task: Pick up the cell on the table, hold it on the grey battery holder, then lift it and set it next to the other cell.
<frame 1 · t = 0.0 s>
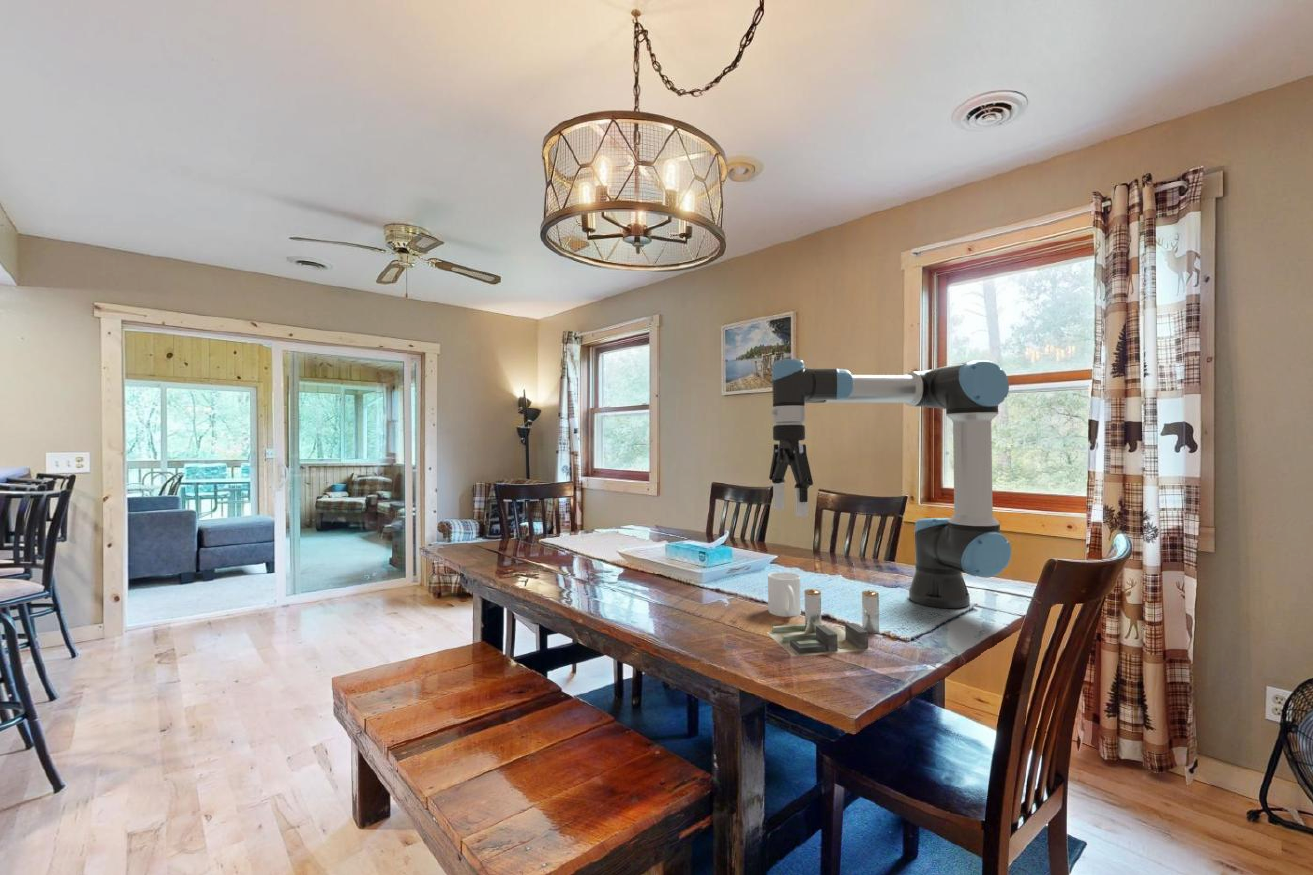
hand: (790, 512, 136), 28 cm above the table, fingers open, 13 cm apart
cell a: (870, 634, 131), on the table
cell b: (813, 634, 129), point 1 cm above the table, touching grey battery holder
mug: (786, 618, 145), on the table
grey battery holder: (817, 645, 125), on the table
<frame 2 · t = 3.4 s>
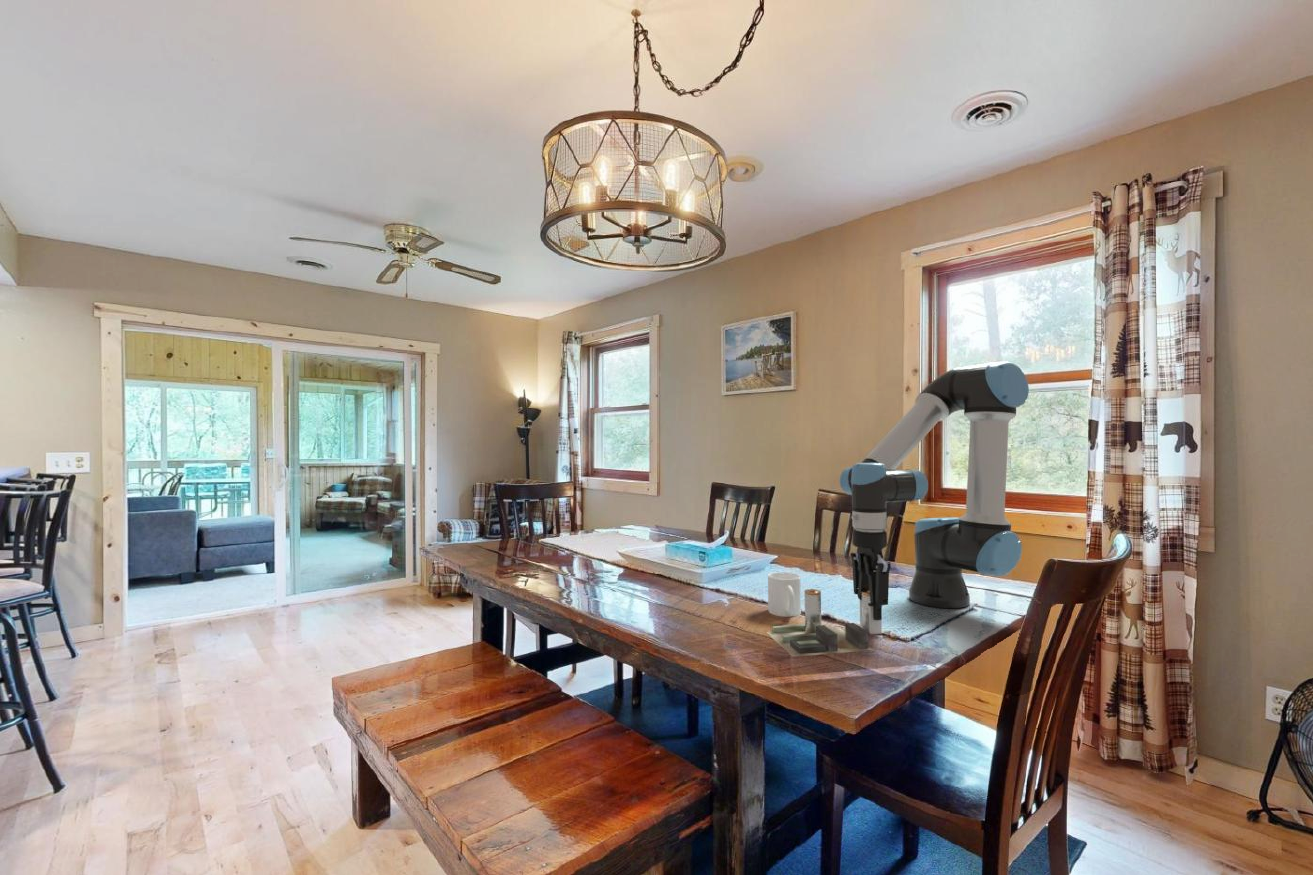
hand: (870, 630, 131), 1 cm above the table, fingers closed on cell a, 3 cm apart
cell a: (870, 634, 131), on the table, touching gripper
everything else where it was.
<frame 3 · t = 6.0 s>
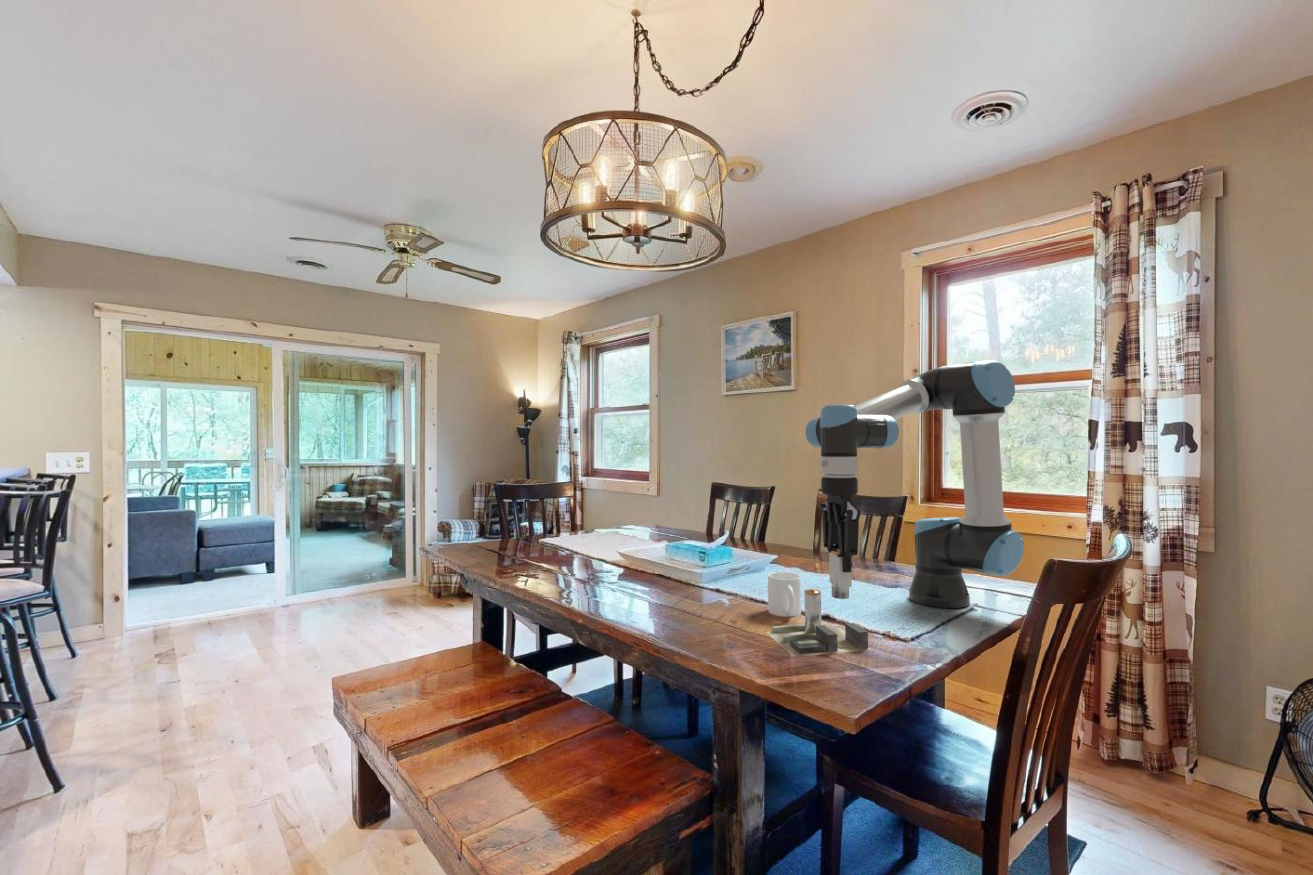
hand: (840, 584, 122), 14 cm above the table, fingers closed on cell a, 3 cm apart
cell a: (840, 596, 122), point 11 cm above the table, touching gripper
everything else where it was.
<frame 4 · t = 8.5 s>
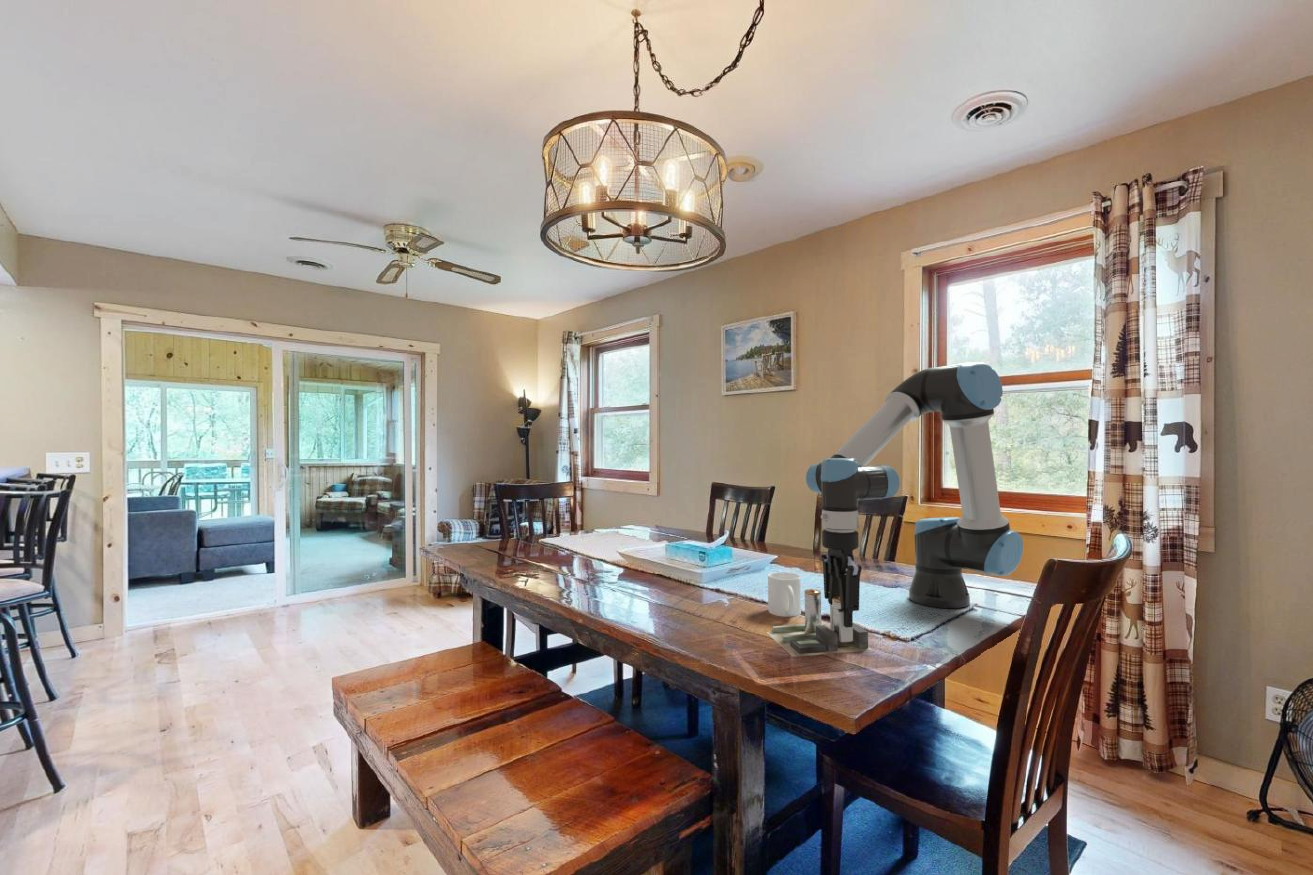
hand: (841, 637, 122), 3 cm above the table, fingers closed on cell a, 3 cm apart
cell a: (841, 644, 122), point 1 cm above the table, touching gripper
everything else where it was.
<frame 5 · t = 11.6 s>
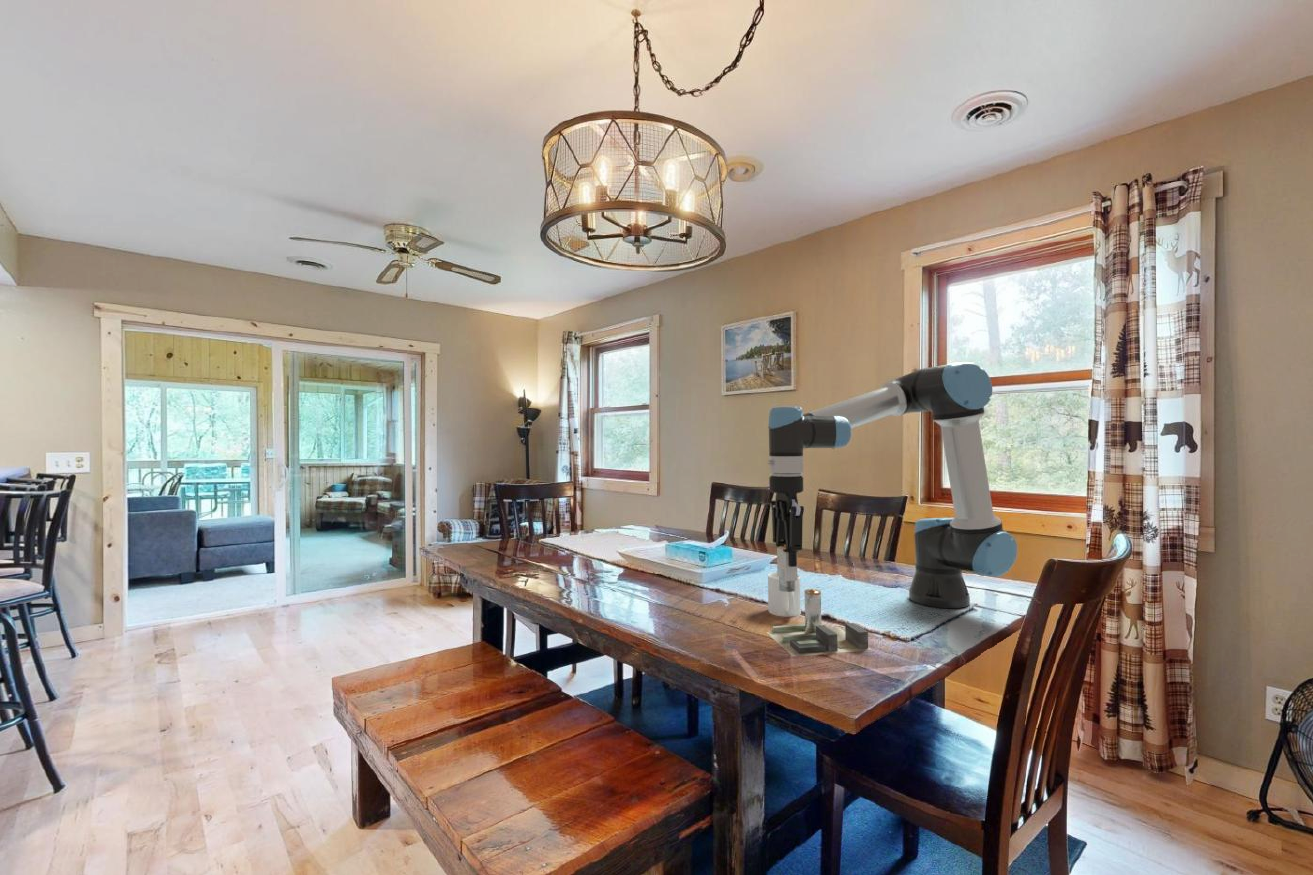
hand: (787, 577, 128), 14 cm above the table, fingers closed on cell a, 3 cm apart
cell a: (787, 589, 128), point 12 cm above the table, touching gripper
everything else where it was.
when the fingers open (3 cm above the table, at t = 13.7 s): cell a stays where it is, resting on grey battery holder.
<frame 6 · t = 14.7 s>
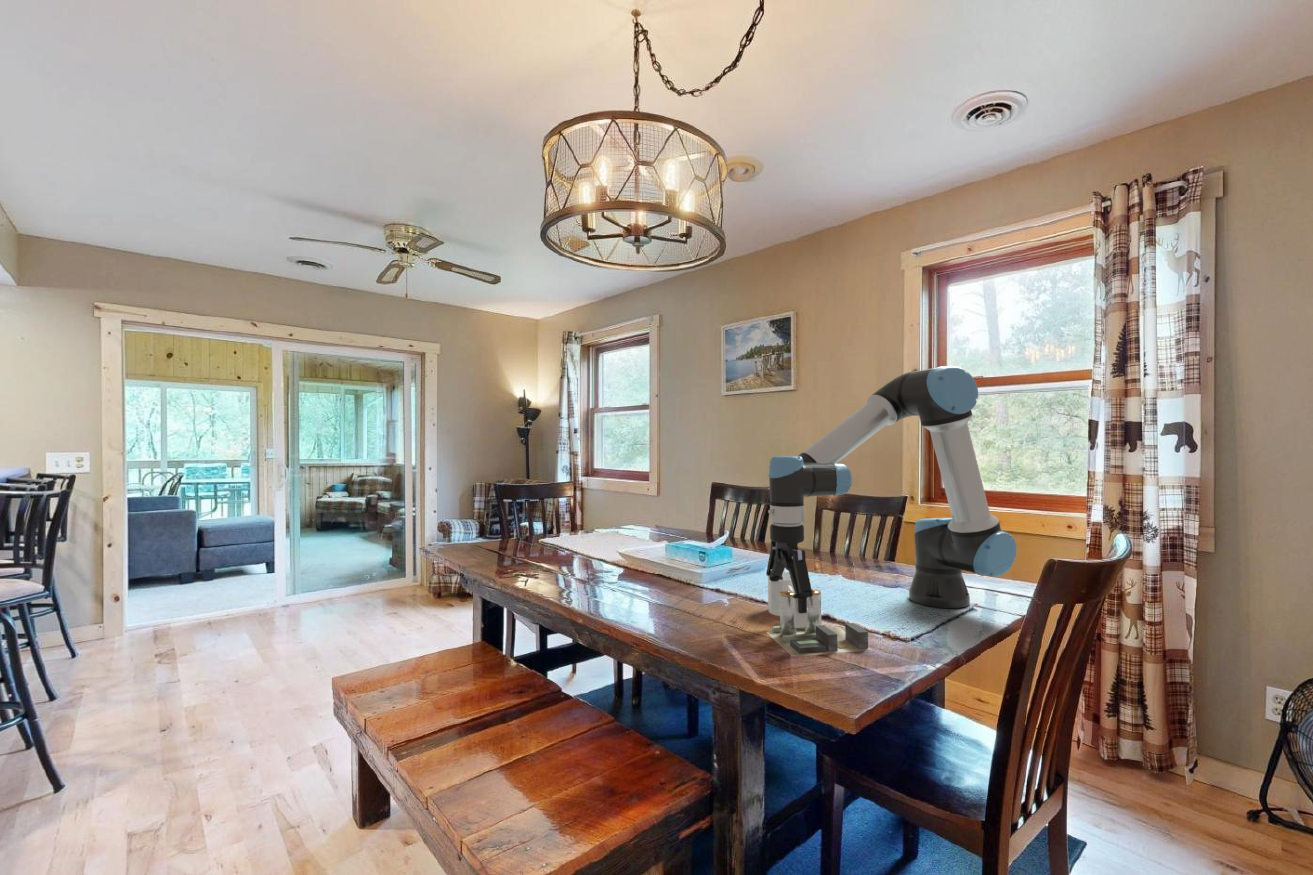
hand: (788, 617, 128), 5 cm above the table, fingers open, 13 cm apart
cell a: (788, 636, 128), point 1 cm above the table, touching grey battery holder
everything else where it was.
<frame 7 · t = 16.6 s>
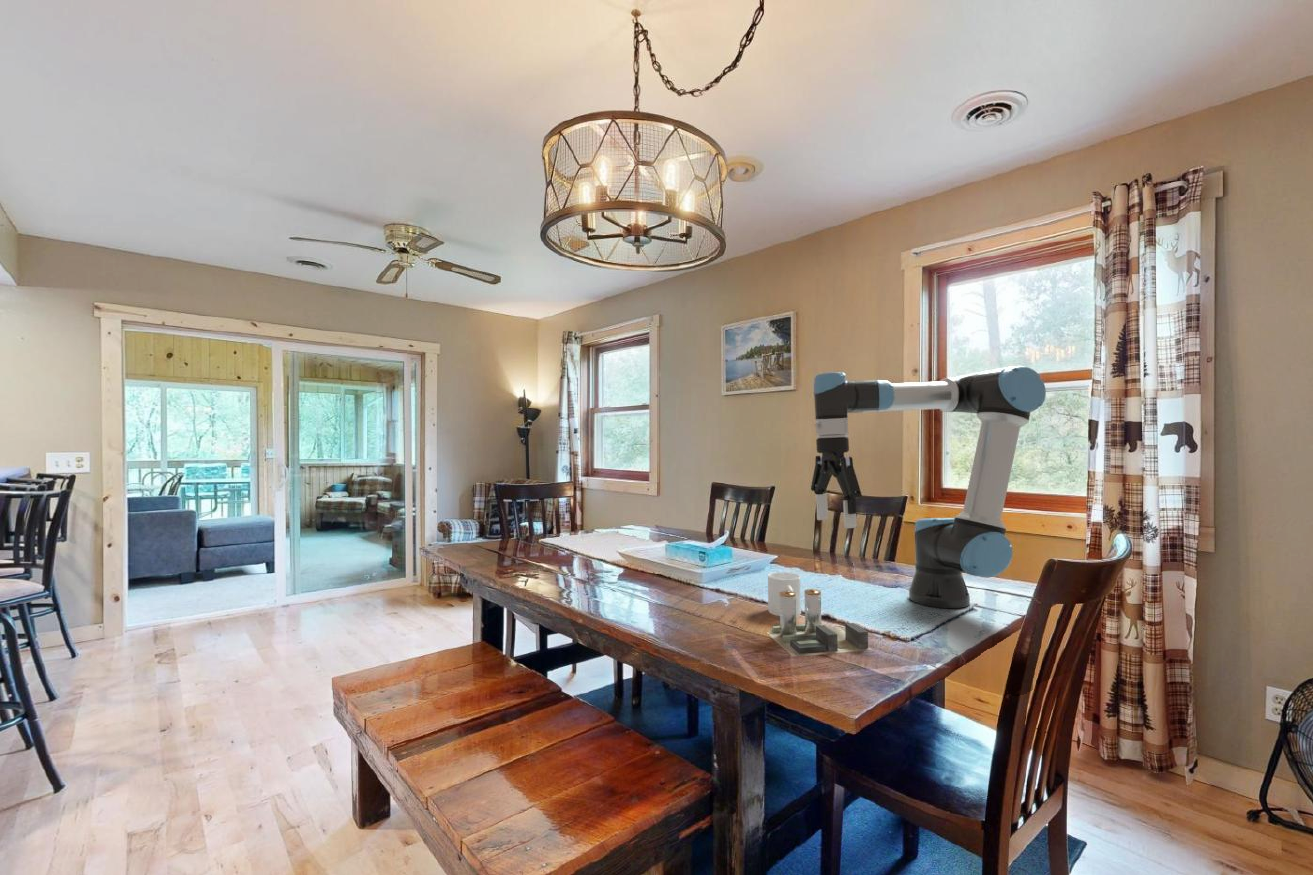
hand: (835, 523, 138), 25 cm above the table, fingers open, 13 cm apart
nothing on the table moved.
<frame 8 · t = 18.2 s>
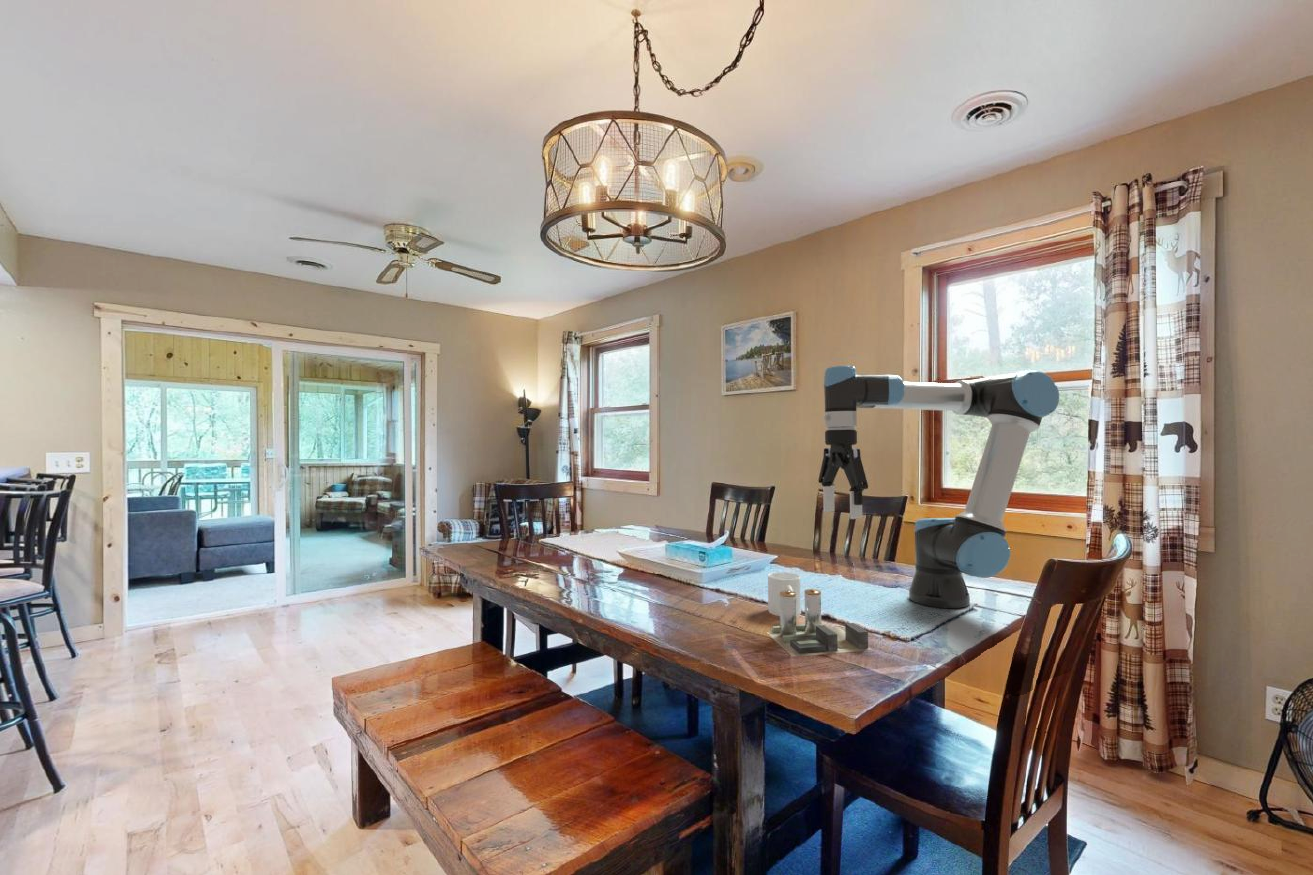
hand: (842, 515, 140), 27 cm above the table, fingers open, 13 cm apart
nothing on the table moved.
at the end: cell a 0.1 cm from the target spot on the grey battery holder, point 1.0 cm above the grey battery holder's base; cell a tilted 0°; the gripper is holding nothing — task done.
